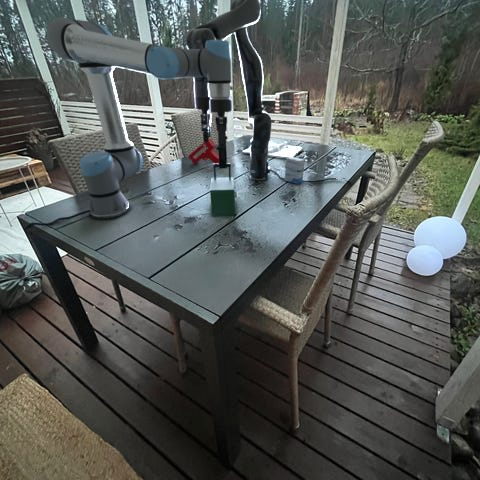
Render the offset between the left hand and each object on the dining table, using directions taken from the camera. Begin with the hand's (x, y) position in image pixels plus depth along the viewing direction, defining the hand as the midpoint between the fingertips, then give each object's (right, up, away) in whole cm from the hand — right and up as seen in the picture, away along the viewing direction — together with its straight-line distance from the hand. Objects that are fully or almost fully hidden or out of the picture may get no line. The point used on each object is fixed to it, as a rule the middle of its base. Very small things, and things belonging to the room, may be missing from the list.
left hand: (223, 162), depth 101 cm
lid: (-1, -6, +11) cm, 13 cm away
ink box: (+34, +2, +43) cm, 55 cm away
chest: (-1, -15, +16) cm, 22 cm away
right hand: (-7, +13, +11) cm, 18 cm away
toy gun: (-15, +19, +70) cm, 74 cm away
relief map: (+30, +35, +93) cm, 104 cm away
